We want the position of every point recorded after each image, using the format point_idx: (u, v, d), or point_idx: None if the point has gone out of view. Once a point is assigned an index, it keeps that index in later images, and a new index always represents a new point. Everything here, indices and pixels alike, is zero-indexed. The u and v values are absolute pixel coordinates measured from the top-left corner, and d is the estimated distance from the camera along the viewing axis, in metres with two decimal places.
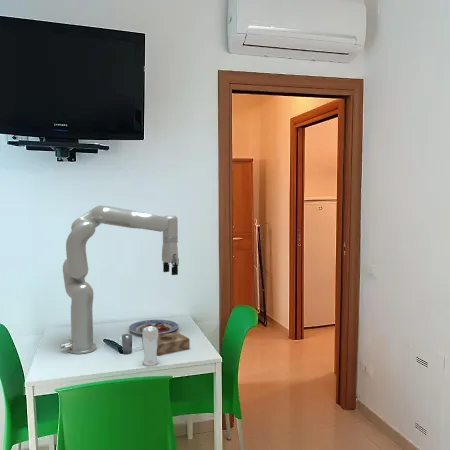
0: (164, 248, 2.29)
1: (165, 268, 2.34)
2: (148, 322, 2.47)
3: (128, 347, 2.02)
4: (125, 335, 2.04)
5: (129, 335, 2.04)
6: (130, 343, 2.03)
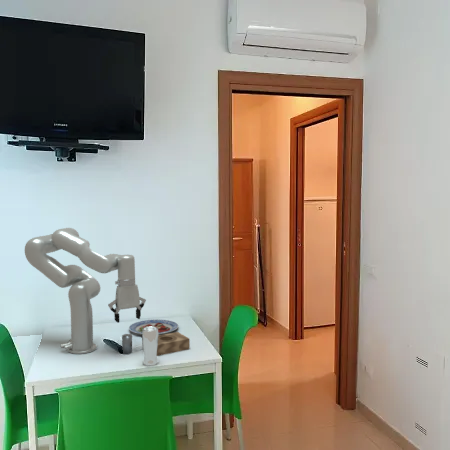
0: (127, 293, 1.99)
1: None
2: (148, 322, 2.47)
3: (128, 347, 2.02)
4: (125, 335, 2.04)
5: (129, 335, 2.04)
6: (130, 343, 2.03)
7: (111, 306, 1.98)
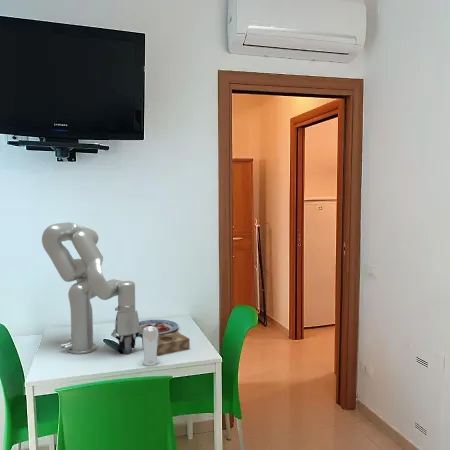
0: (127, 319, 2.00)
1: None
2: (148, 322, 2.47)
3: (128, 347, 2.02)
4: (125, 335, 2.04)
5: (129, 335, 2.04)
6: (130, 343, 2.03)
7: (114, 335, 2.00)
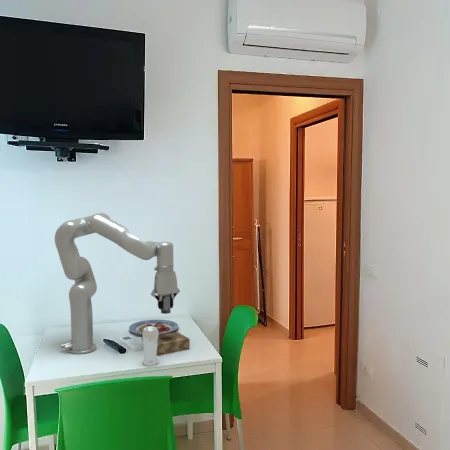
0: (166, 279, 2.04)
1: None
2: (148, 322, 2.47)
3: (167, 306, 2.06)
4: (164, 295, 2.07)
5: (168, 295, 2.07)
6: (169, 303, 2.06)
7: (154, 294, 2.04)
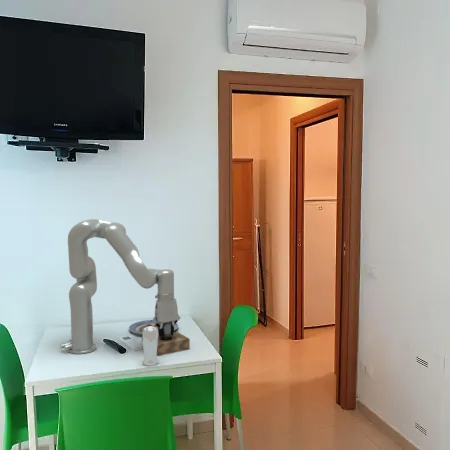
0: (166, 307, 2.05)
1: None
2: (148, 322, 2.47)
3: (167, 334, 2.07)
4: None
5: (168, 322, 2.08)
6: (169, 330, 2.07)
7: (155, 322, 2.05)
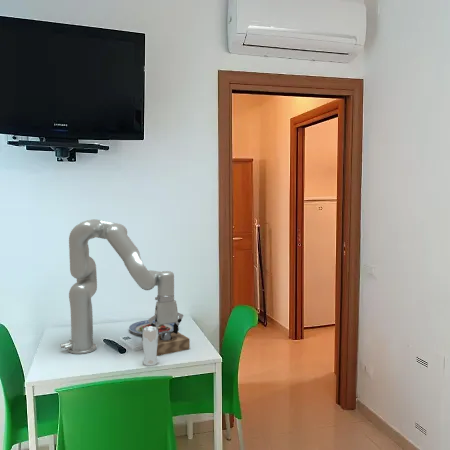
0: (166, 309, 2.05)
1: None
2: (148, 322, 2.47)
3: None
4: (164, 332, 2.09)
5: (168, 332, 2.09)
6: None
7: (151, 321, 2.04)
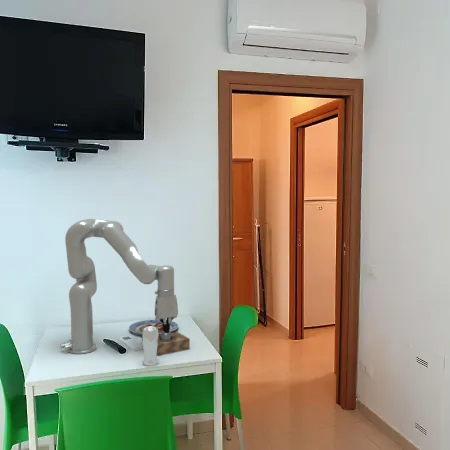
0: (166, 303, 2.05)
1: None
2: (148, 322, 2.47)
3: None
4: (164, 332, 2.09)
5: (168, 332, 2.09)
6: None
7: (158, 319, 2.06)
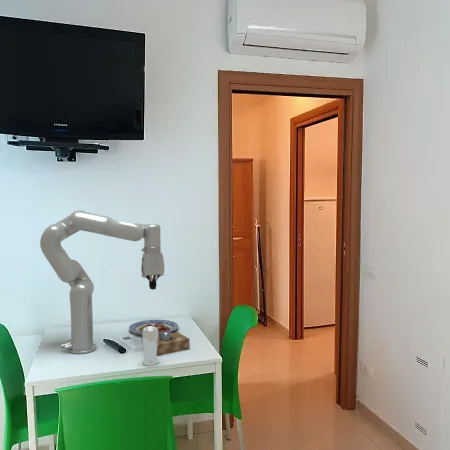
0: (153, 260, 2.09)
1: None
2: (148, 322, 2.47)
3: None
4: (164, 332, 2.09)
5: (168, 332, 2.09)
6: None
7: (145, 276, 2.09)
